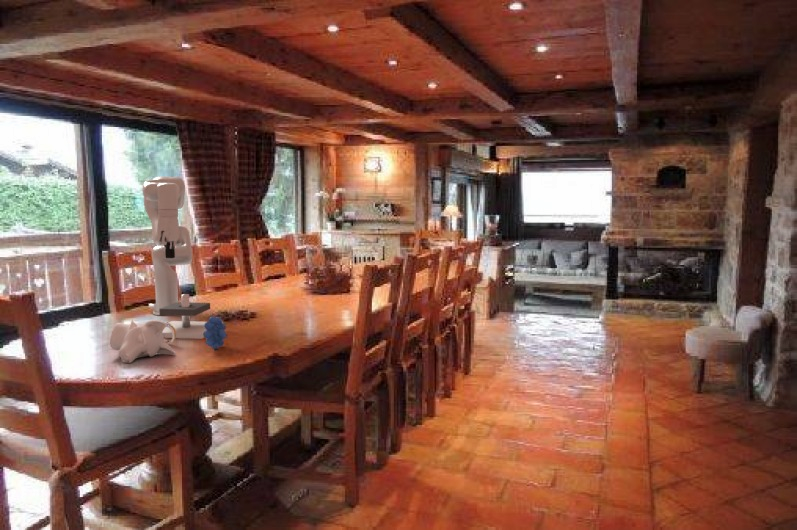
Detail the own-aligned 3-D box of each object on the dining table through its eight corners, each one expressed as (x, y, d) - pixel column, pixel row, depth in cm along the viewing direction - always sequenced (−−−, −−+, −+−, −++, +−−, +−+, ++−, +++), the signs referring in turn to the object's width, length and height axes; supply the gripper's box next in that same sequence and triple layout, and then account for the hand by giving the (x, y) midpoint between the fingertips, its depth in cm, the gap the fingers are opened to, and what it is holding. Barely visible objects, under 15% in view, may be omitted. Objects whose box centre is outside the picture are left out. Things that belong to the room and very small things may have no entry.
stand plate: (146, 337, 208) (146, 332, 208) (172, 325, 228) (172, 320, 228) (202, 338, 206) (202, 333, 206) (223, 326, 226) (223, 321, 226)
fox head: (88, 344, 170) (153, 340, 169) (113, 314, 185) (173, 310, 184) (103, 378, 176) (165, 375, 175) (126, 347, 191) (183, 343, 190)
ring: (178, 344, 198) (177, 322, 197) (171, 346, 195) (170, 324, 194) (163, 342, 201) (162, 321, 200) (156, 344, 198) (155, 322, 197)
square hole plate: (159, 315, 210) (159, 308, 210) (177, 308, 224) (176, 302, 223) (194, 315, 209) (194, 309, 208) (210, 308, 223) (210, 302, 222)
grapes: (216, 354, 185) (214, 319, 184) (199, 352, 187) (197, 318, 186) (235, 345, 196) (234, 313, 195) (219, 344, 198) (218, 312, 197)
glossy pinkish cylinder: (179, 327, 215) (178, 295, 214) (184, 325, 219) (182, 293, 217) (188, 328, 215) (187, 295, 213) (192, 325, 219) (191, 294, 217)
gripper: (168, 212, 232) (170, 255, 234) (149, 214, 217) (152, 260, 220) (185, 213, 231) (187, 255, 234) (168, 214, 216) (170, 260, 219)
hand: (170, 257), depth 227 cm, fingers closed
